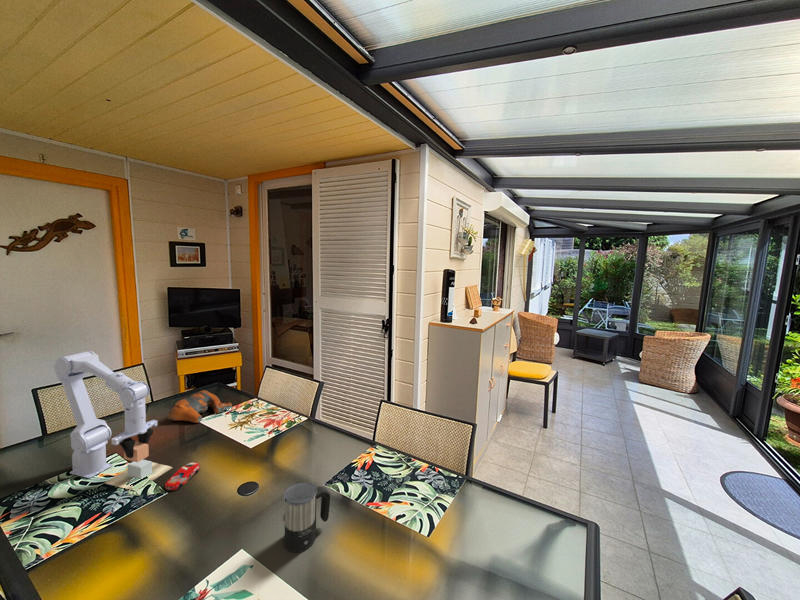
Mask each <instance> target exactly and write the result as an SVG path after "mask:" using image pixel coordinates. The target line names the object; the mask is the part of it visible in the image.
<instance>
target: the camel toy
mask: <svg viewBox="0 0 800 600" xmlns="http://www.w3.org/2000/svg"><path fill="white" fill-rule="evenodd" d="M208 407H210V408H212V409H213V412H214V413H218V414H219V413H220V412H221V413H224V412H225V411H224V410H227V409H230V408H231V409H232V408H233V404H232V403H231V402H227V403H226V402H221V400H220V398H219V397H218V396H217V395H216V394H213V393H211V392H209V391H208V390H205V389H203V390H198V391H197V392H195V393H194V394H191V395H190V396H187V397H186V398H185V397H184V398H183V399H180V400H178V401H176V402H175V404H174V405H173V407H172V408H171V410H170V411H169V412H168V414H167V416H166V418H167V419H168V420H170V421H175V422H180V421H186V422H190V423H196V424H198V423H200V422H202V420H203V416H202V415H201V413H205V412H206V411H207V410H208ZM223 411H224V412H223ZM227 411H228V410H227ZM214 413H213V414H214Z"/></svg>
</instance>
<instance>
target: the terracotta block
mask: <svg viewBox="0 0 800 600" xmlns="http://www.w3.org/2000/svg"><path fill="white" fill-rule="evenodd" d="M149 450H150V449H149V444H145V443H141V442H139V441H137V440H136V441H135V444H134V449H133V457H132V458H128V457H126V454H125V451H124V450H123V459H124V460H126V461H127V460H128V461H131V462H133V461H134V462H139V461H141V460H142V459H143V460H145V459H147V458H148V457H149V456H150V455H149V453H150V452H149Z"/></svg>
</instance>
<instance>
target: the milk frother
mask: <svg viewBox="0 0 800 600" xmlns="http://www.w3.org/2000/svg"><path fill="white" fill-rule="evenodd" d="M320 498H321V499H320ZM317 499H320V500H321V501H320V518H321V520H322V522H327V521H328V520H329V516H330V505H331V494H330V491H329V490H328V489H327V488H326V487H324V486H316V485H314V484H313V483H310V482H298V483H295V484H293V485H291V486H290V487H288V488H287V489H286V490H285V491H284V494H283V501H284V535H283V536H284V537H283V547H284V548H285V549H286V550H287V551H289V552H291V553H292V552H293V553H299V552H303V551H306V550H308V549H309V548H310V547H311V546H312V545H313V544H314V543H315V541H316V539H317V538H316V537H317V534H316V529H317Z"/></svg>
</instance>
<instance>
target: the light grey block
mask: <svg viewBox="0 0 800 600" xmlns="http://www.w3.org/2000/svg"><path fill="white" fill-rule="evenodd" d="M152 462H153V461H151V460H147V459H142V460H141V461H139V462H134V461H131V462H130V463H128V464H127V469H128V476H129V477H133V478H138V479H143V478H144V477H146V476H148V475H149V474H151V473H152Z"/></svg>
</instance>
